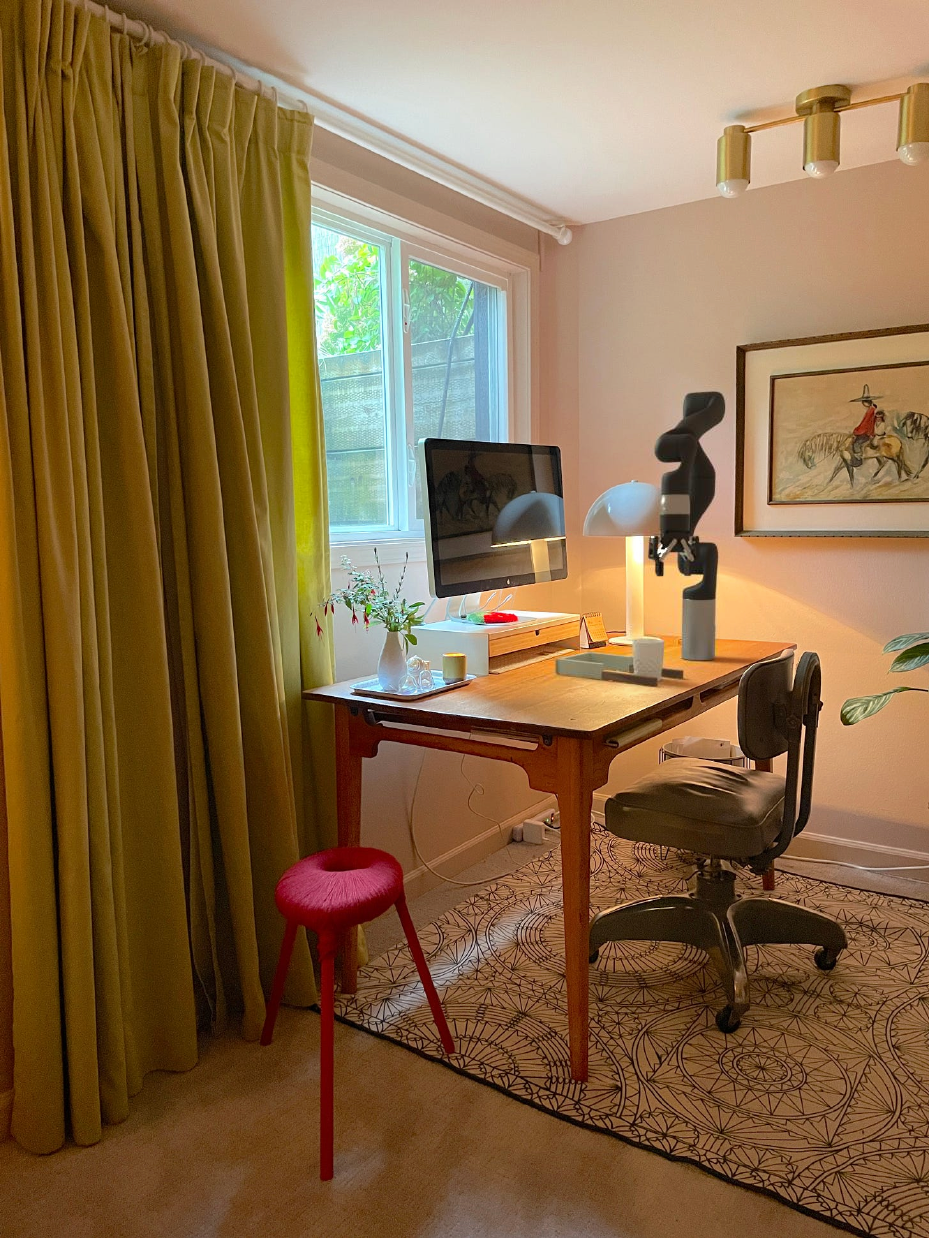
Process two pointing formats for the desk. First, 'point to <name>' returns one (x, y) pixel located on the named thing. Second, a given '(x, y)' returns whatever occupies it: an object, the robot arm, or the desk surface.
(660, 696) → the desk surface
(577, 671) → the tray
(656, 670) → the white cup
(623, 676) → the channel
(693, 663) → the desk surface
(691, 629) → the robot arm
